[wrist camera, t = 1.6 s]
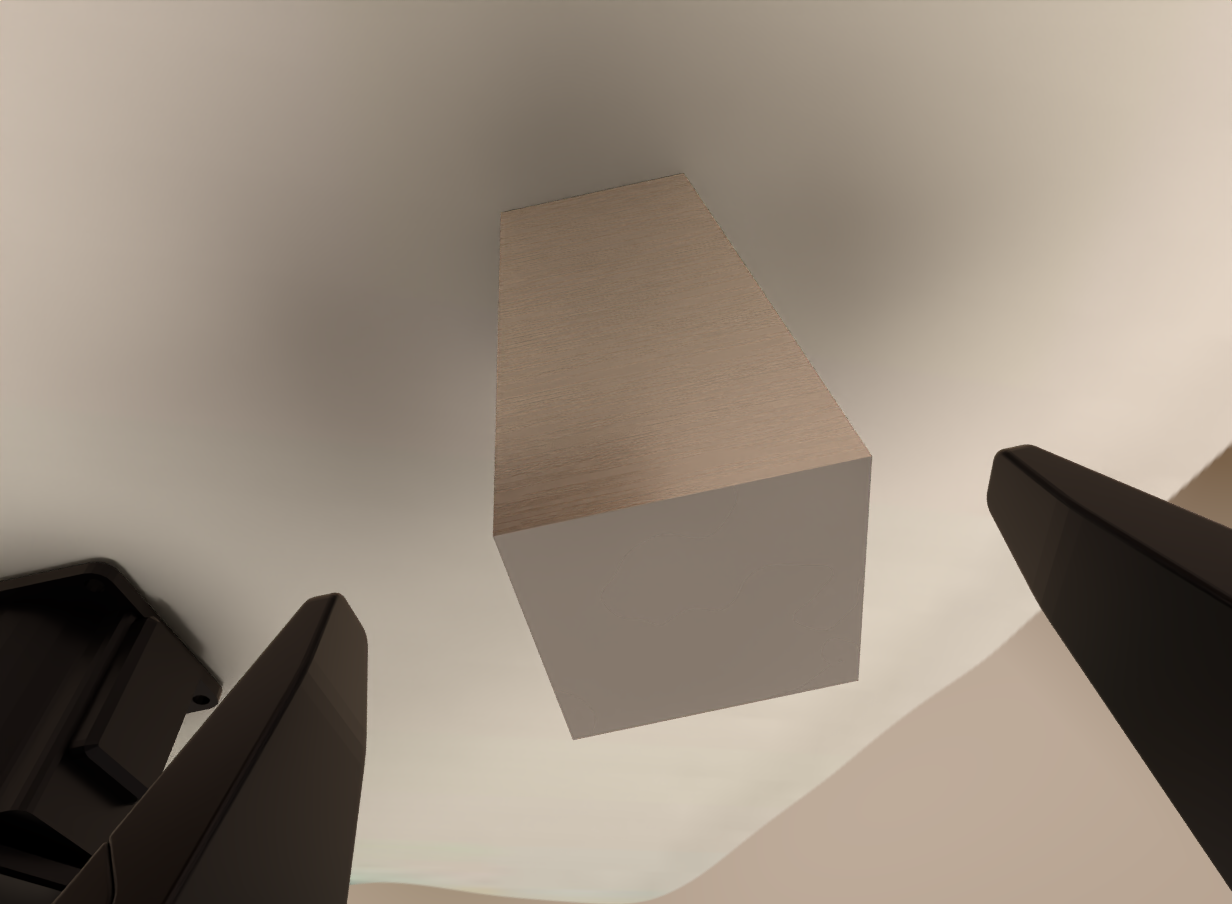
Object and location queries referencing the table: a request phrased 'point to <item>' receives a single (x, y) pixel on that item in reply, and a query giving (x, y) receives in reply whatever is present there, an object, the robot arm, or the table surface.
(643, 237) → the steel peg
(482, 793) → the table surface
